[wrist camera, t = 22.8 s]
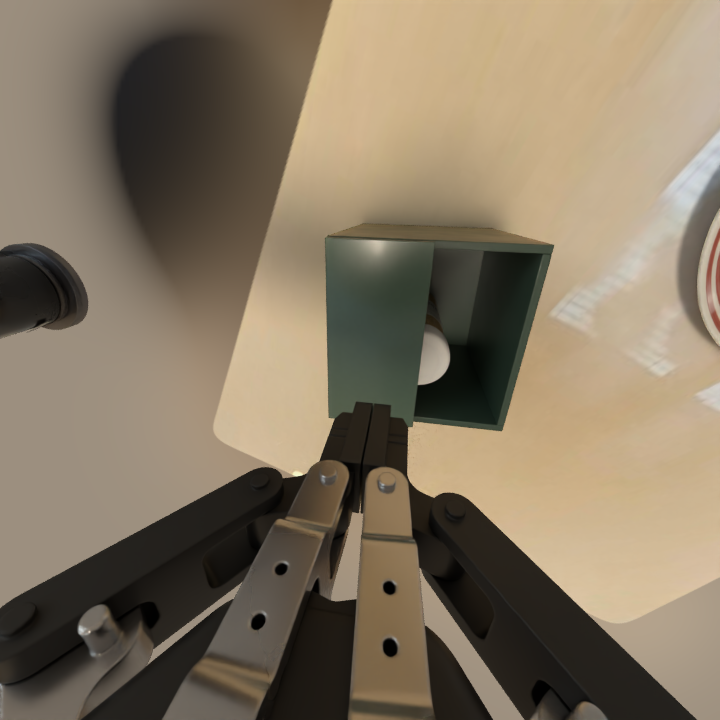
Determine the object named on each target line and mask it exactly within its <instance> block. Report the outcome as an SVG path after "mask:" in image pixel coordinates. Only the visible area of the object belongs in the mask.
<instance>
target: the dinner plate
mask: <svg viewBox="0 0 720 720" xmlns="http://www.w3.org/2000/svg"><path fill="white" fill-rule="evenodd" d="M697 296H698V304H699V309H700V313H701V316H702V319H703V321H704V324H705V326H706V328H707V330H708V332H709V333H710V335H711V336H712V338H713V339H714V340H715V342H716V343H717V344H718V345H719V346H720V208H719V210H718V212H717V214H716V216H715V218H714V220H713V222H712V224H711V227H710V229H709V231H708V234H707V237H706V240H705V243H704V246H703V249H702V253H701V257H700V262H699V267H698V275H697Z"/></svg>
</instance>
